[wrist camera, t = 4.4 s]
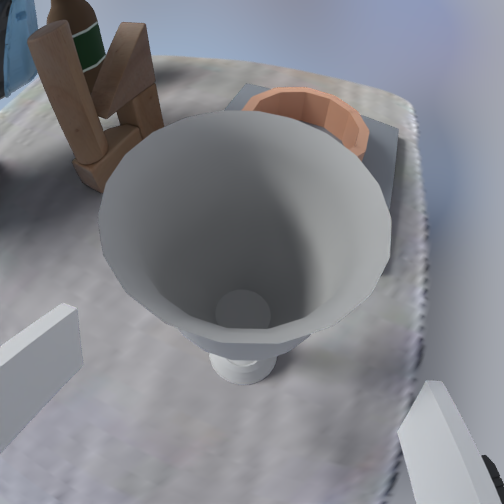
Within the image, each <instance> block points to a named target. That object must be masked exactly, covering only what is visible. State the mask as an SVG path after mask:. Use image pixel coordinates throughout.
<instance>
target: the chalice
mask: <svg viewBox="0 0 504 504" xmlns="http://www.w3.org/2000/svg"><path fill="white" fill-rule="evenodd" d="M98 225H99V231H100V238H101V244H102V250H103V256H104V257H105V259H106V261H107V262H108V264H109V266H110V267H111V269H112V271H113V272H114V274H115V276H116V277H117V279H118V281H119V282H120V284H121V285H122V287H123V289H124V290H125V292H126V293H127V294H128V295H130V296H131V297H132V298H133V299H135V300H136V301H137V302H138V303H140V304H141V305H142V306H143V307H145V308H146V309H147V310H149V311H150V312H151V313H152V314H154V315H155V316H156V317H158V318H159V319H160V320H162V321H163V322H164V323H166V324H168V325H171V326H173V327H176V328H178V330H179V331H180V332H181V334H182V335H183V336H184V337H186V338H187V339H188V340H190V341H191V342H193V343H194V344H195V345H197V346H198V347H200V348H201V349H203V350H204V351H206V352H209V358H210V361H211V364H212V366H213V368H214V369H215V371H216V372H217V373H218V375H219V376H221V377H222V378H224V379H225V380H226V381H228V382H231V383H234V384H238V385H250V384H253V383H256V382H259V381H261V380H262V379H264V378H265V377H266V376H268V375H269V373H270V372H271V371H272V369H273V368H274V366H275V363H276V359H277V356H278V355H281V354H284V353H288V352H289V351H290V350H292V349H293V348H294V347H296V346H297V345H299V344H300V343H301V342H303V341H304V340H305V339H307V338H308V337H309V336H310V335H311V333H314V332H317V331H320V330H323V329H326V328H329V327H332V326H334V325H335V324H336V323H338V322H339V321H340V320H341V319H343V318H344V317H345V316H346V315H348V314H349V313H350V312H351V311H352V310H354V309H355V308H356V307H357V306H358V305H360V304H361V303H362V302H363V301H364V300H366V299H367V298H368V297H369V296H370V295H371V294H372V292H373V290H374V288H375V286H376V284H377V282H378V280H379V278H380V276H381V274H382V272H383V270H384V268H385V266H386V264H387V262H388V260H389V258H390V247H391V216H390V213H389V210H388V208H387V205H386V202H385V199H384V196H383V194H382V191H381V188H380V186H379V184H378V182H377V181H376V180H375V178H374V177H373V176H372V175H371V173H370V172H369V171H368V169H367V168H366V167H365V166H364V164H363V163H362V162H361V161H360V159H359V158H358V157H357V156H356V155H355V154H354V153H352V152H351V151H350V150H349V149H347V148H346V147H345V146H343V145H342V144H341V143H339V142H338V141H337V140H335V139H334V138H333V137H331V136H330V135H328V134H327V133H325V132H323V131H320V130H318V129H316V128H314V127H311V126H309V125H307V124H305V123H302V122H300V121H298V120H295V119H292V118H288V117H284V116H279V115H275V114H270V113H265V112H260V111H216V112H211V113H206V114H201V115H196V116H191V117H186V118H184V119H181V120H179V121H177V122H174V123H172V124H170V125H168V126H165V127H163V128H161V129H159V130H157V131H155V132H152V133H151V134H150V135H149V136H147V137H146V138H145V139H144V140H142V141H141V142H140V143H139V144H137V145H136V146H135V147H134V148H132V149H131V150H130V151H129V152H128V153H126V154H125V155H124V157H123V158H122V160H121V161H120V163H119V164H118V166H117V167H116V169H115V170H114V172H113V173H112V175H111V176H110V178H109V179H108V181H107V182H106V185H105V189H104V193H103V197H102V201H101V205H100V209H99V214H98Z"/></svg>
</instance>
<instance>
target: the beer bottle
mask: <svg viewBox="0 0 504 504" xmlns="http://www.w3.org/2000/svg"><path fill="white" fill-rule="evenodd" d="M59 20H67V21H68V23H69V26H70V30H71V33H72V37H73V41H74V44H75V47H76V51H77V54H78V57H79V61H80V64H81V67H82V70H83V73H84V77H85V80H86V83H87V86H88V89H89V92H90V95H91V93H92V91H93V88H94V85H95V82H96V80H97V77H98V74H99V72H100V69H101V67H102V64H103V62H104V59H105V57H106V54H105V50H104V46H103V42H102V38H101V34H100V29H99V25H98V21H97V18H96V15H95V12H94V10H93V8H92V7H91V6H90V4H89V3H88V2H86V1H85V0H51V9H50V12H49V15H48V17H47V25H48V24H50V23H52V22H55V21H59Z"/></svg>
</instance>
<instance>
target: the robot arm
mask: <svg viewBox="0 0 504 504" xmlns="http://www.w3.org/2000/svg"><path fill="white" fill-rule="evenodd" d="M37 30H38V25H37V18H36V10H35V4H34V0H0V99H2V98H4V97H9V96H10V95H11V93H12V92H14V91H16V90H17V89H19V88H21V87H22V86H24V85H26V84H27V83H29V82H30V81H32V79H34V77H35V76H36V75H37V73H38V72H37V69H36V66H35V64H34V61H33V58H32V56H31V53H30V50H29V47H28V45H27V39H28V38H29V36H30V35H31V34H33V33H34V32H35V31H37ZM83 365H84V363H83V356H82V348H81V340H80V330H79V320H78V308H76V307H73V306H71V305H68V304H65V303H62V304H60V305H59V306H57V307H56V308H54V309H53V310H51V311H50V312H48V313H47V314H45V315H44V316H42V317H41V318H40V319H38V320H37V321H35V322H34V323H32V324H31V325H29V326H28V327H27V328H25V329H24V330H22V331H21V332H19V333H18V334H17V335H15V336H14V337H12V338H11V339H10V340H8V341H7V342H6V343H4V344H3V345H1V346H0V454H1V453H2V452H3V451H4V450H5V449H6V447H7V446H8V445H9V444H10V443H11V442H12V441H13V440H14V439H15V438H16V436H17V435H18V434H19V433H20V432H21V431H22V430H23V429H24V428H25V427H26V425H27V424H28V423H29V422H30V421H31V420H32V419H33V418H34V417H35V416H36V415H37V414H38V413H39V411H40V410H41V409H42V408H43V407H44V406H45V405H46V404H47V403H48V402H49V401H50V400H51V399H52V398H53V397H54V396H55V394H56V393H57V392H58V391H59V390H60V389H61V388H62V387H63V386H64V385H65V384H66V383H67V382H68V381H69V380H70V379H71V378H72V377H73V376H74V375H75V374H76V373H77V372H78V371H79V370H80V368H81V367H82V366H83ZM397 434H398V437H399V441H400V444H401V448H402V451H403V455H404V458H405V462H406V466H407V470H408V473H409V477H410V481H411V485H412V489H413V493H414V497H415V501H416V504H504V487H503V486H504V484H503V481H502V479H501V478H500V475H499V472H498V471H497V468H496V466H495V464H494V463H493V462H492V461H491V460H490V459H489V458H488V457H487V456H486V455H482V456H481V455H480V453H479V451H478V448H477V446H476V444H475V442H474V440H473V438H472V436H471V434H470V432H469V430H468V428H467V426H466V424H465V422H464V421H463V418H462V416H461V415H460V413H459V411H458V409H457V407H456V405H455V403H454V401H453V400H452V398H451V396H450V394H449V392H448V390H447V389H446V387H445V385H444V383H443V382H442V381H434V380H426V381H425V383H424V385H423V387H422V389H421V390H420V392H419V394H418V396H417V398H416V400H415V402H414V403H413V405H412V407H411V409H410V411H409V412H408V414H407V416H406V417H405V419H404V421H403V423H402V424H401V426H400V428H399V429H398V431H397Z"/></svg>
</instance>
